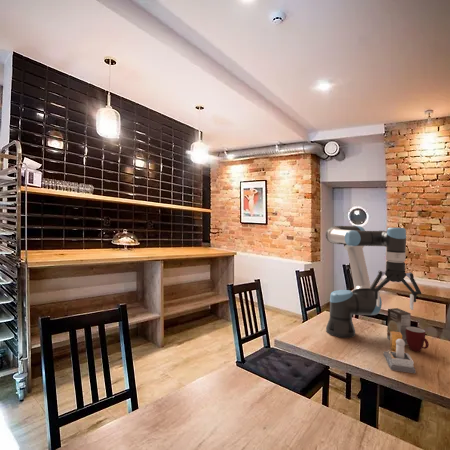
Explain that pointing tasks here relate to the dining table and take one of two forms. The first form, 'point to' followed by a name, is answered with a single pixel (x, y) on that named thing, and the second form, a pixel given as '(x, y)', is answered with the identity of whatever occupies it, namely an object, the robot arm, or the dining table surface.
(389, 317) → the coffee box
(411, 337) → the mug
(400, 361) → the tray with orange handle
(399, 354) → the keeper board
